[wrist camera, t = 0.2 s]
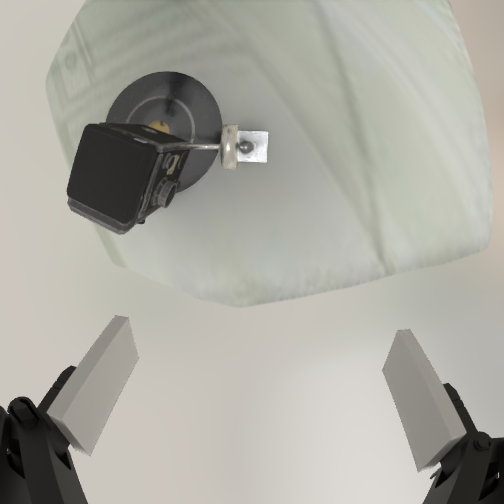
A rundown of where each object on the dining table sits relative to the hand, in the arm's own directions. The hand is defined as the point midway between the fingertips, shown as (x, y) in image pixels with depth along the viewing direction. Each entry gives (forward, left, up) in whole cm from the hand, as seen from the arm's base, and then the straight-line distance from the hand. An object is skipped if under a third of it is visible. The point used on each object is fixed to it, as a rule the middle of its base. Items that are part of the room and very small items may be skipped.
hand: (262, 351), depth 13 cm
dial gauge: (-9, -5, -28) cm, 29 cm away
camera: (-6, -15, -28) cm, 32 cm away
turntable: (-11, -15, -28) cm, 34 cm away
